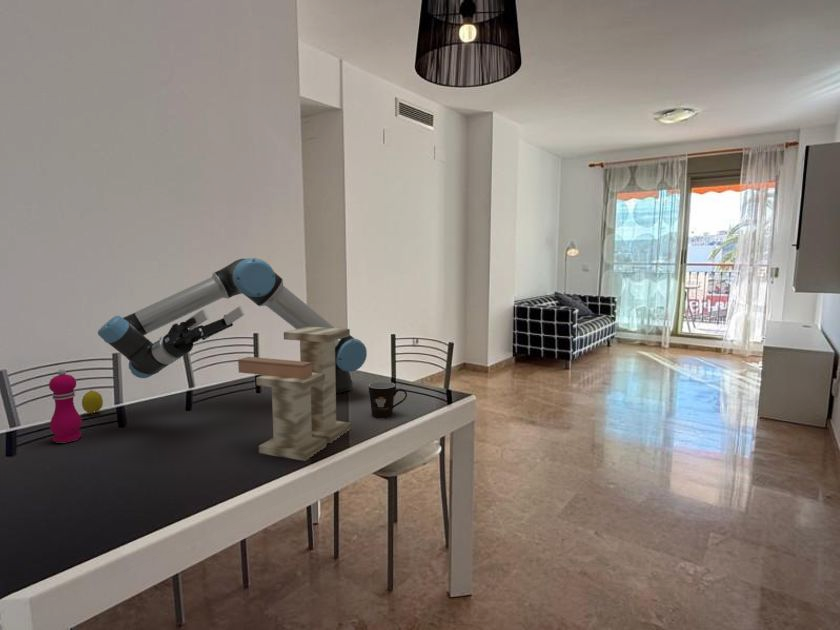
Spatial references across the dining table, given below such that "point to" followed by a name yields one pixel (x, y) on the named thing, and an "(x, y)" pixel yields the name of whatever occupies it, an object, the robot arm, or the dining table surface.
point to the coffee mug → (383, 398)
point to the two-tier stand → (306, 398)
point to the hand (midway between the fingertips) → (224, 312)
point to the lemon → (92, 402)
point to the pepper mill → (64, 408)
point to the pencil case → (275, 367)
